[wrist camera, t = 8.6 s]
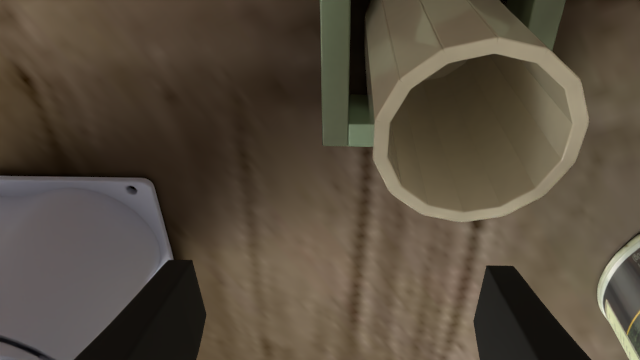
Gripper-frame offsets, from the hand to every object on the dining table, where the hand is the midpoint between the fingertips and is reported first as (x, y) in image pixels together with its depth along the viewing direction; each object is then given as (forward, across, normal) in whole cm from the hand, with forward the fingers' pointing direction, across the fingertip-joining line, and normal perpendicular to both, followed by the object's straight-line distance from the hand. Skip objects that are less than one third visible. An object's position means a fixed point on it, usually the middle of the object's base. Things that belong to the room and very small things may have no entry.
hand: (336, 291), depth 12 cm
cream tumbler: (+10, -3, -3) cm, 11 cm away
